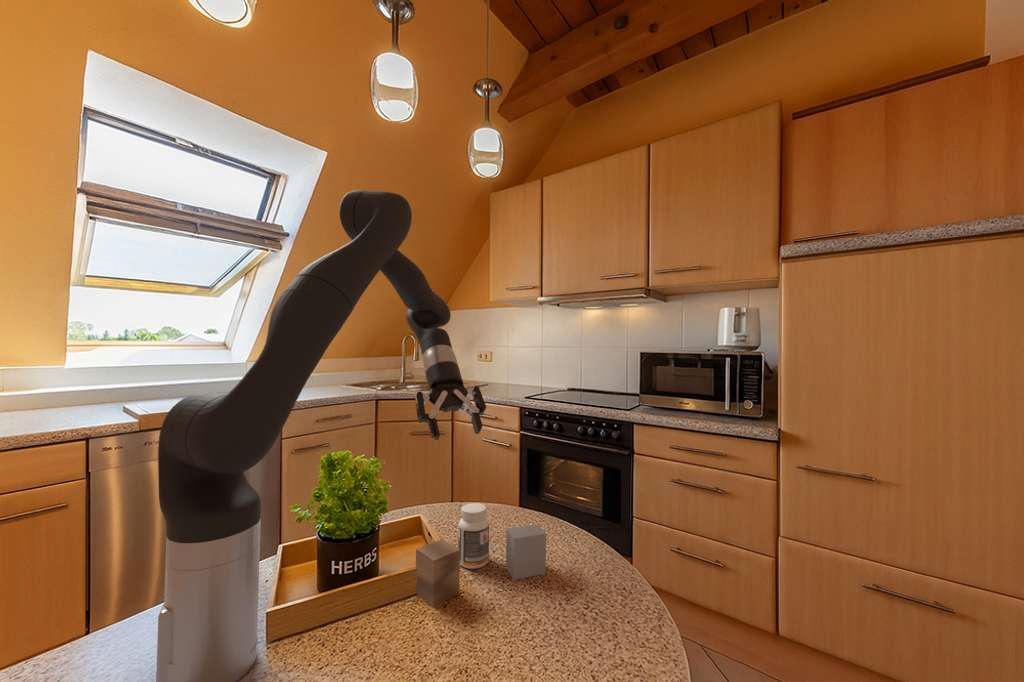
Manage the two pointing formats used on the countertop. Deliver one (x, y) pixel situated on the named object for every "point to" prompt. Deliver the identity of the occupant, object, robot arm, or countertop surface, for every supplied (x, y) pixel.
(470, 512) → the pill bottle
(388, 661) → the countertop surface
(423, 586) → the walnut block
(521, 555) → the slate block
